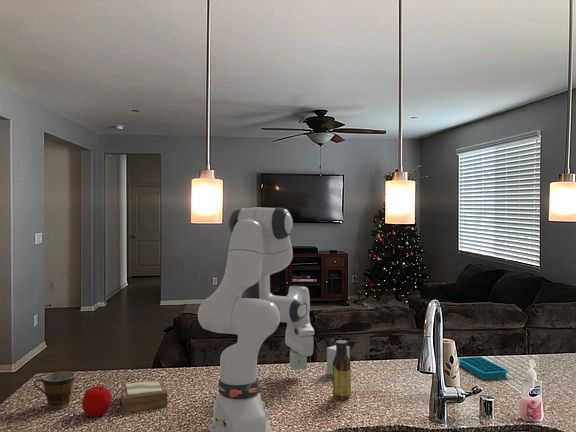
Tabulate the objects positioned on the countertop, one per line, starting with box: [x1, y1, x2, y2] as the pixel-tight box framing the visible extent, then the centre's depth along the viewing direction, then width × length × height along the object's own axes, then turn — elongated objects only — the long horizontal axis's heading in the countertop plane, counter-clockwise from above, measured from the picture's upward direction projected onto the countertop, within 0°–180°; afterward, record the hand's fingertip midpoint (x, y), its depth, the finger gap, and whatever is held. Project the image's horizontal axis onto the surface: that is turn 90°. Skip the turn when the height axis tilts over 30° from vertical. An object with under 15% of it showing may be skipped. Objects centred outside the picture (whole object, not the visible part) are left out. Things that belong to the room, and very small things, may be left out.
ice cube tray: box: [457, 356, 510, 380], centre depth 207 cm, size 12×20×3 cm, turn 12°
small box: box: [326, 344, 351, 376], centre depth 204 cm, size 8×6×10 cm
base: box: [120, 378, 168, 413], centre depth 173 cm, size 14×14×5 cm
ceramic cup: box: [33, 370, 77, 410], centre depth 169 cm, size 13×10×10 cm
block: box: [289, 350, 308, 371], centre depth 198 cm, size 5×5×6 cm
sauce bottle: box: [332, 339, 352, 401], centre depth 177 cm, size 7×6×20 cm
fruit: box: [81, 382, 113, 418], centre depth 163 cm, size 9×9×10 cm
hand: (298, 362), depth 198 cm, fingers closed on block, 5 cm apart
